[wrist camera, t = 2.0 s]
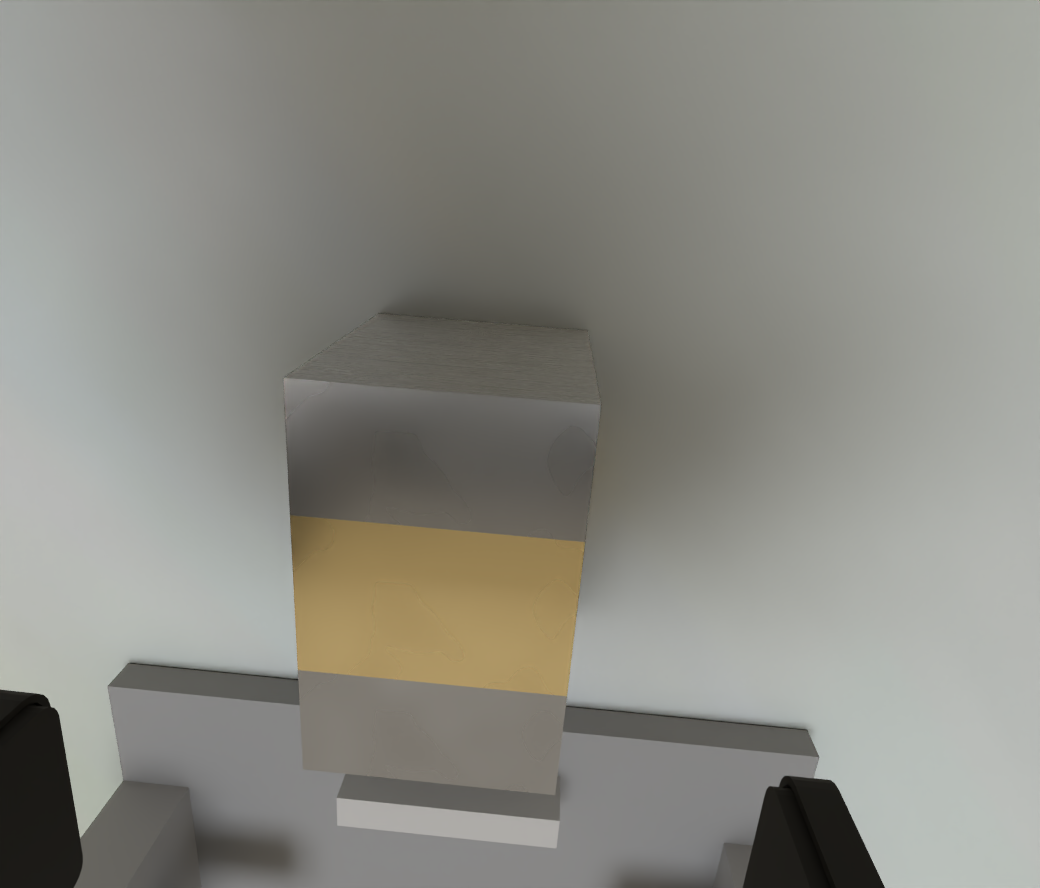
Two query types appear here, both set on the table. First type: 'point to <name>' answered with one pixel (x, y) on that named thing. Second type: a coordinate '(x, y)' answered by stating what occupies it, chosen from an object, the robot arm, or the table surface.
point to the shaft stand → (418, 801)
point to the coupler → (439, 547)
